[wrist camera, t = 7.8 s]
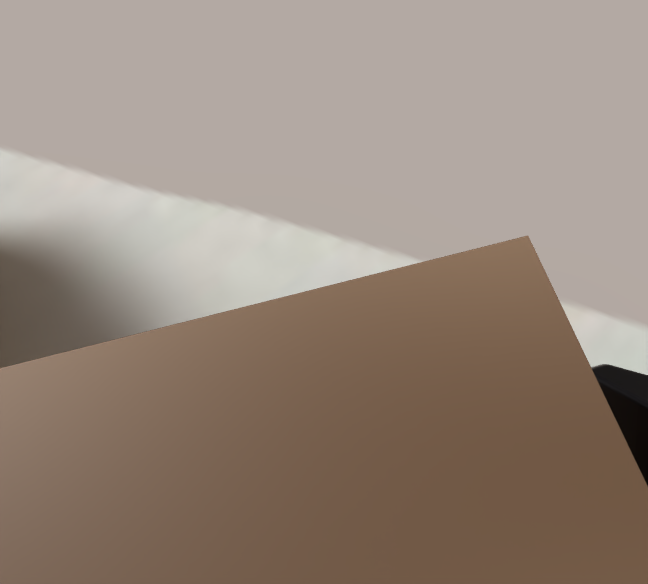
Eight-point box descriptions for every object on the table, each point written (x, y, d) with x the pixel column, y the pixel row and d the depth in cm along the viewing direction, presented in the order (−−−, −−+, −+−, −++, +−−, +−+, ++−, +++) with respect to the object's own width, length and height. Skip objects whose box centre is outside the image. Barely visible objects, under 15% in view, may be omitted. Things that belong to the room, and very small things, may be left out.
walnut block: (432, 595, 14) (968, 1157, 2) (271, 644, 13) (-157, 1641, 2) (382, 431, 15) (528, 236, 4) (239, 471, 15) (-89, 390, 3)
